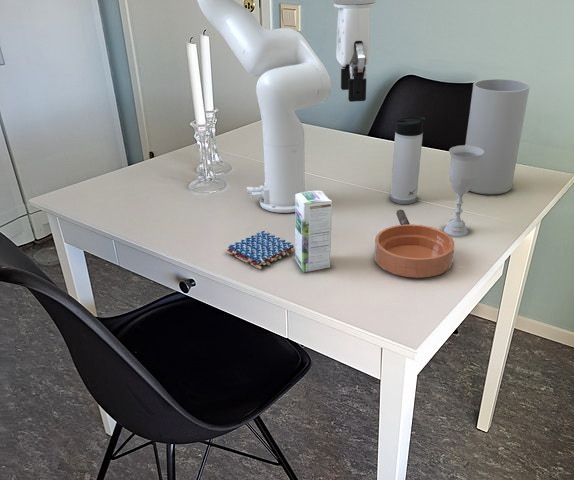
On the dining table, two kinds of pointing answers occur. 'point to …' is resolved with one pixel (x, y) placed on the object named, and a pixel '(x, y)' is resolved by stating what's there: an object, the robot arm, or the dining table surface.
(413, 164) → the travel mug
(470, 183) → the chalice
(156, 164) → the dining table surface
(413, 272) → the pan
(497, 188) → the cylinder vase
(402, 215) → the pan handle
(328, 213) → the syrup box
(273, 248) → the woven mat
